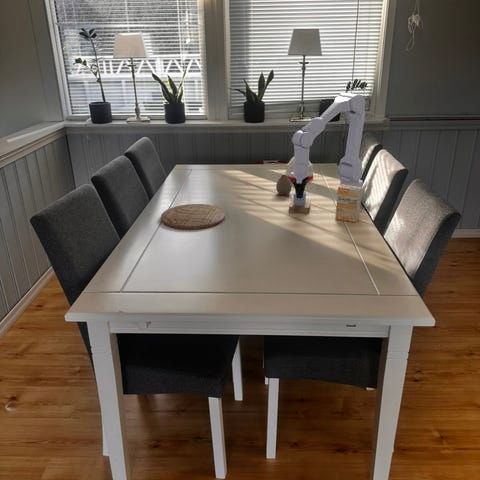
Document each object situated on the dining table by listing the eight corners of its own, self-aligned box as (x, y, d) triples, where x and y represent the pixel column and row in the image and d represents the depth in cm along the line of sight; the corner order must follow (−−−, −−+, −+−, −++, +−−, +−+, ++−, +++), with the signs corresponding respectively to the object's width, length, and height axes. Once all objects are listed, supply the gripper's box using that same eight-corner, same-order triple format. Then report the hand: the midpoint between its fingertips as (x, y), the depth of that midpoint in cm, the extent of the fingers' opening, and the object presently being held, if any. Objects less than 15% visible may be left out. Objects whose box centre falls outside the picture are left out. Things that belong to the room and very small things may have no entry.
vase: (291, 192, 205) (292, 173, 202) (291, 196, 199) (292, 177, 195) (276, 191, 206) (276, 173, 202) (275, 196, 200) (276, 177, 196)
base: (310, 208, 187) (310, 201, 185) (308, 214, 179) (309, 207, 178) (290, 207, 188) (291, 200, 187) (288, 213, 181) (288, 206, 180)
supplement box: (334, 219, 172) (337, 187, 167) (338, 215, 176) (340, 183, 171) (356, 223, 169) (359, 189, 163) (359, 219, 173) (362, 186, 167)
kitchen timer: (282, 180, 223) (283, 150, 217) (288, 172, 235) (289, 144, 229) (310, 181, 220) (312, 151, 213) (314, 174, 232) (316, 145, 226)
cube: (305, 202, 184) (306, 191, 182) (304, 205, 180) (304, 195, 178) (294, 201, 185) (294, 191, 183) (293, 205, 181) (293, 194, 179)
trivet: (216, 232, 163) (216, 228, 163) (151, 228, 168) (151, 224, 167) (231, 209, 186) (231, 205, 185) (173, 206, 190) (173, 202, 190)
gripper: (293, 157, 183) (292, 189, 188) (289, 166, 170) (288, 200, 176) (310, 158, 182) (309, 190, 187) (307, 167, 169) (306, 201, 174)
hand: (300, 195), depth 181 cm, fingers open, 6 cm apart
